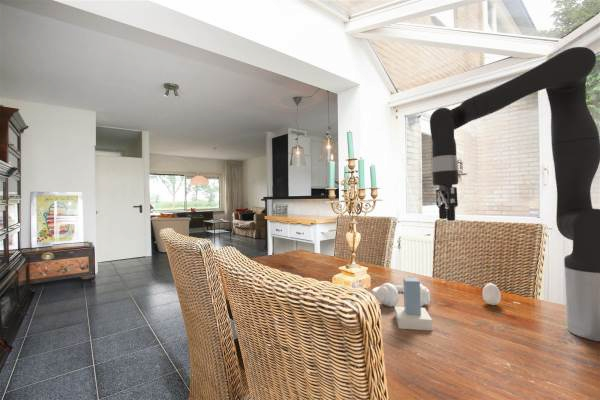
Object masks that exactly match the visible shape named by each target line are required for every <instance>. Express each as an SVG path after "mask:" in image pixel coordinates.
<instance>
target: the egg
mask: <svg viewBox="0 0 600 400" xmlns="http://www.w3.org/2000/svg"><path fill="white" fill-rule="evenodd" d="M481 292H482V298H483V301H485V303H487V304H489V305H490V306H496V305H499V303H500V302H501V298H502V294H501V291H500V289H499V288H498V286H497V285H496V284H495V283H492V282H490V283H489V282H488V283H486V284H485V285H484V287H483V288H482V291H481Z"/></svg>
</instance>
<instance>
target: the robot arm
mask: <svg viewBox="0 0 600 400" xmlns="http://www.w3.org/2000/svg"><path fill="white" fill-rule="evenodd" d="M596 63H597V56H596V53H595V52H594V51H593V50H592V49H590V48H588V47H584V46H574V47H570V48H567V49H565V50H562V51H561V52H559V53H557V54H556V55H554V56H552V57H551V58H549V59H547V60H545V61H544V62H541V63H540V64H539V65H536V66H535V67H533V68H531V69H529V70H527V71H526V72H523V73H521V74H519V75H518V76H515V77H514V78H512V79H510V80H507V81H505V82H503V83H501V84H498V85H497V86H494V87H492V88H490V89H487V90H485V91H482V92H480V93H478V94H476V95H472V96H471V97H468V98H467V99H464V100H462V102H461V103H460V105H458V106H456V107H453V108H451V109H450V108H448V107H440V108H437V109H436V110H434V111H433V112H432V114H431V115H430V118H429V129H430V136H431V141H432V144H431V145H432V146H431V147H432V148H431V151H432V153H431V155H432V161H431V162H432V163H431V171H432V173H431V174H432V186H435V187H436V186H438V188H436V190H435V193H436V196H435V197H436V198H435V200H436V207H437V208H438V216H439V220H447V221H448V222H449V221H450V222H452V221H455V220H456V208H457V207H458V206H459V205H458V204H459V201H458V187H456V186H455V185H458V184H459V163H458V158H457V142H456V139H455V130H457V129H459V128H461V127H463V126H465V125H466V124H469V123H470V122H472V121H475V120H479V119H481V118H483V117H486V116H489V115H491V114H493V113H496V112H498V111H500V110H502V109H504V108H506V107H508V106H510V105H511V104H513V103H516V102H517V101H519V100H521V99H523V98H525V97H527V96H530V95H532V94H534V93H537V92H540V91H542V90H545V91H546V95H547V99H548V104H549V108H550V135H551V136H550V138H551V139H550V140H551V143H550V144H551V151H552V160H553V168H554V178H555V184H556V197H557V198H556V217H555V218H556V221H555V222H556V227H557V230H558V232H559V233H560V235H561V236H563V238H566V239H567V240H571V241H572V250H571V253H570V254H568V255H566V256H564V259H563V261H564V265H563V266H564V280H565V283H564V284H565V286H564V287H565V301H566V302H565V304H566V305H565V308H566V329H567V331H568V332H570V333H571V334H573V335H576V336H578V337H580V338H584V339H587V340H589V341H590V340H591V341H596V342H600V208H593V204H592V196H591V191H592V190H591V188H592V183H593V181H594V178H595V176H596V174H597V171H598V169H599V165H600V133H599V130H598V126H597V124H596V122H595V120H594V117H593V116H592V114H591V112H590V110H589V107H588V105H587V104H588V103H587V93H586V89H587V88H586V87H587V84H586V83H587V77H588V76H589V75H590V74H591V73H592V72H593V69H594V68H595V66H596Z"/></svg>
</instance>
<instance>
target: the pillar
mask: <svg viewBox="0 0 600 400" xmlns="http://www.w3.org/2000/svg"><path fill="white" fill-rule="evenodd" d="M402 278H403V283H402V284H403V286H404V292H403V303H404V305H403V307H404V309H405V312H406V315H418V316H421V308H422V306H421V301H420V284H421V283H420V282H421V281H420V280H419V278H418V277H402Z"/></svg>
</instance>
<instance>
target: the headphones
mask: <svg viewBox="0 0 600 400" xmlns="http://www.w3.org/2000/svg"><path fill="white" fill-rule="evenodd" d="M371 292H372V294H373V295H375V296H376V298H375V299H377V300H378V301H379V302H380V303H381V304H383V305H384V306H386V307H389V308H390V307H392V308H393V307H395V306H396V305H397V304H398V302H399V299H400V296H399V293H404V285H396V284H395V285H394V284H392V283H390V282H386V283H383V284H382V285H380V286H376V287H374V288H373V289H372V290H371ZM373 295H372V296H373ZM420 301H421V307H423V306H424V305H425V306H426V305H428V303H430V302H431V291H430V290H429V289H428V287H426V286H424V285H423V284H422V283H420Z"/></svg>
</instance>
